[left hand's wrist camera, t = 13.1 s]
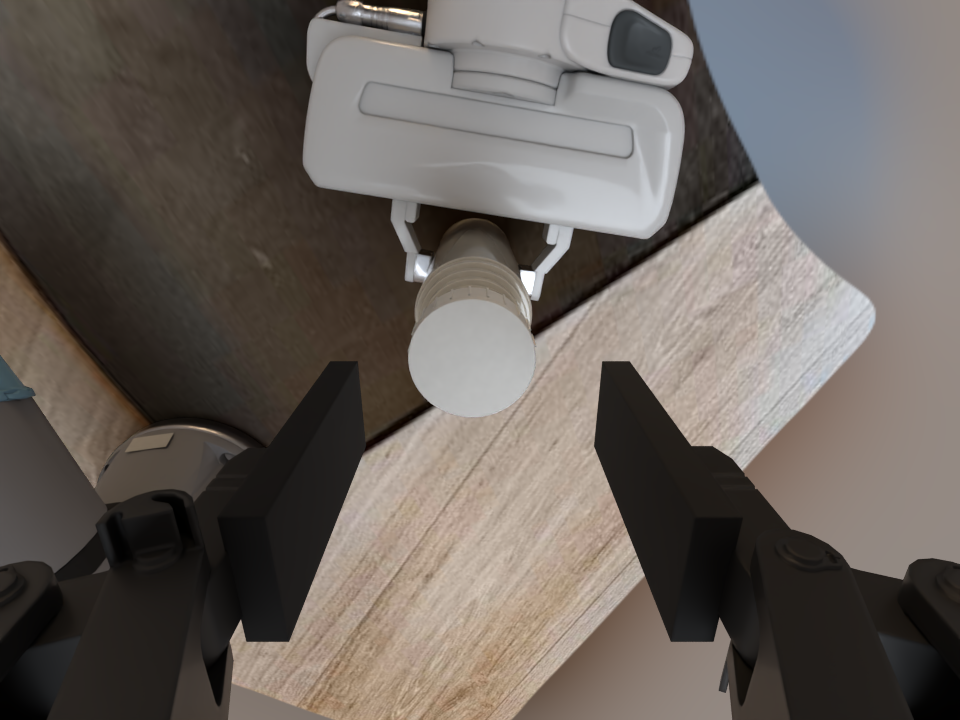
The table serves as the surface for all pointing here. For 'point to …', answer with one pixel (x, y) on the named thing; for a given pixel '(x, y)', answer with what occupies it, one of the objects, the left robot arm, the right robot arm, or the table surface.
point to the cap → (472, 352)
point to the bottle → (474, 265)
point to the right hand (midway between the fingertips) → (472, 289)
